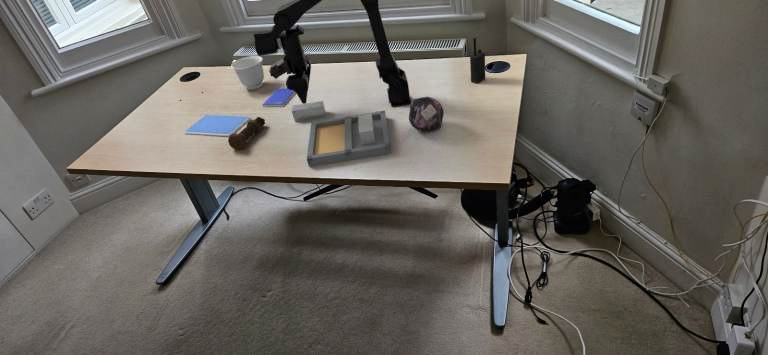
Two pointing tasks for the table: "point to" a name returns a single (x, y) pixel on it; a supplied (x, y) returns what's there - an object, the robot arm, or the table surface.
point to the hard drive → (279, 98)
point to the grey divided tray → (348, 138)
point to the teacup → (249, 71)
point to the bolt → (246, 133)
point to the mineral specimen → (426, 114)
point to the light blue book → (217, 125)
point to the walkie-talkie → (477, 65)
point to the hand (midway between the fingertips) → (305, 97)
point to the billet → (308, 111)
